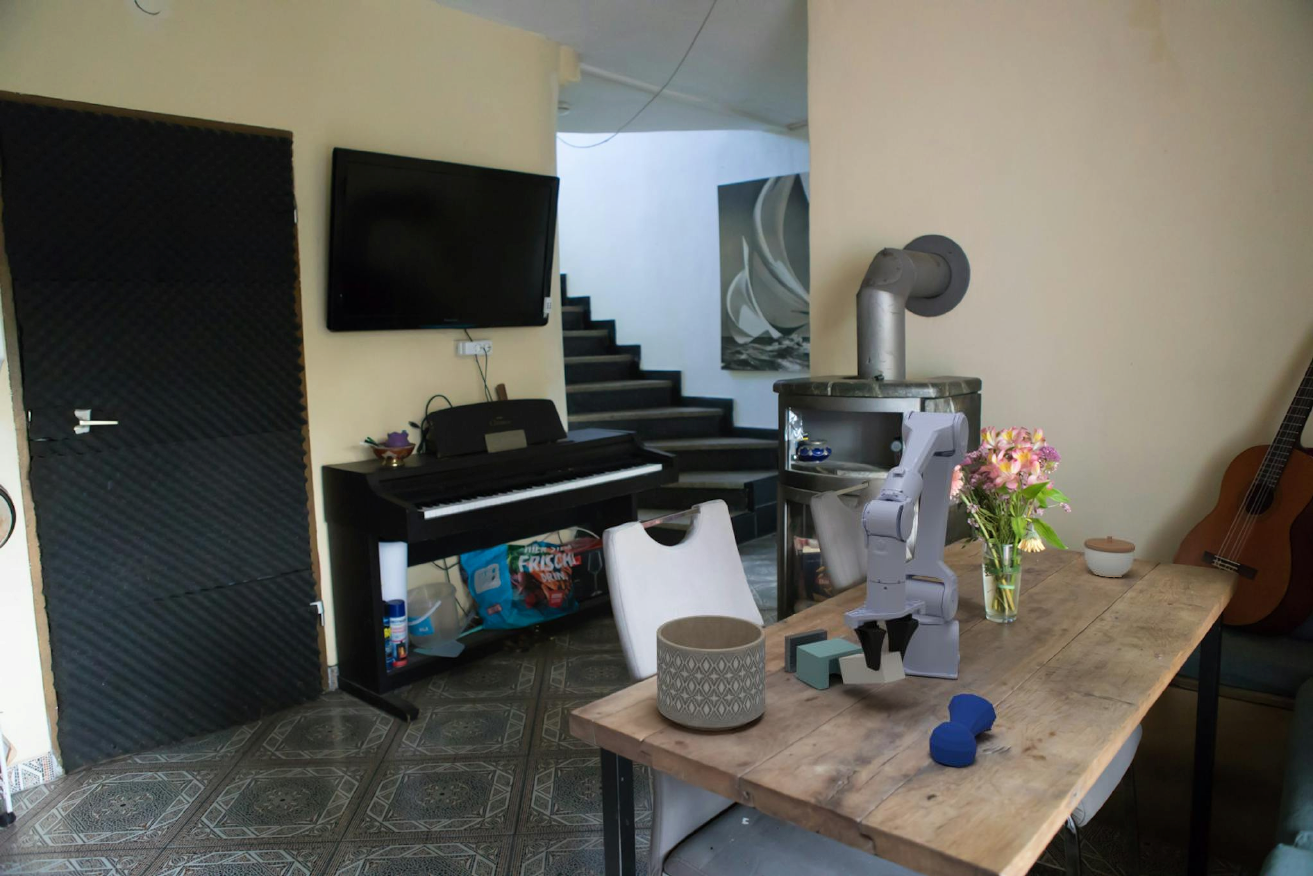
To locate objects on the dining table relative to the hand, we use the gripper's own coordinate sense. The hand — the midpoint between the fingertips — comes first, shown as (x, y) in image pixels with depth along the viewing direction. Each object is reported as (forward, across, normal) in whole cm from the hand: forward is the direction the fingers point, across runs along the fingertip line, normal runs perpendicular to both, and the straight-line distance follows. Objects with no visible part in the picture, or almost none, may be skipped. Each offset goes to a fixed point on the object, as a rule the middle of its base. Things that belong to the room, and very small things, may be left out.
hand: (884, 666), depth 136 cm
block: (+6, 0, -13) cm, 15 cm away
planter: (+7, +24, -12) cm, 28 cm away
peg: (+3, 0, -2) cm, 4 cm away
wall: (+6, 0, -19) cm, 20 cm away
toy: (+7, -1, +15) cm, 17 cm away
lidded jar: (+6, -99, -31) cm, 104 cm away
